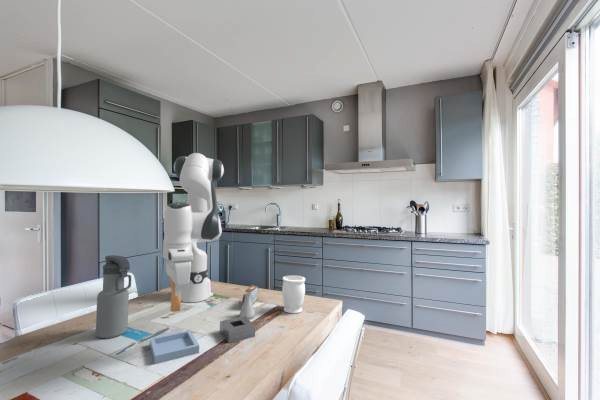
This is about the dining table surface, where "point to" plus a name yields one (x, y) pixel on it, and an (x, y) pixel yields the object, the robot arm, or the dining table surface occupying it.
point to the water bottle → (113, 298)
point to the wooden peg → (175, 299)
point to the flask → (247, 307)
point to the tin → (252, 293)
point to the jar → (293, 293)
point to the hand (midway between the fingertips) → (176, 293)
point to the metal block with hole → (237, 329)
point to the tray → (173, 346)
